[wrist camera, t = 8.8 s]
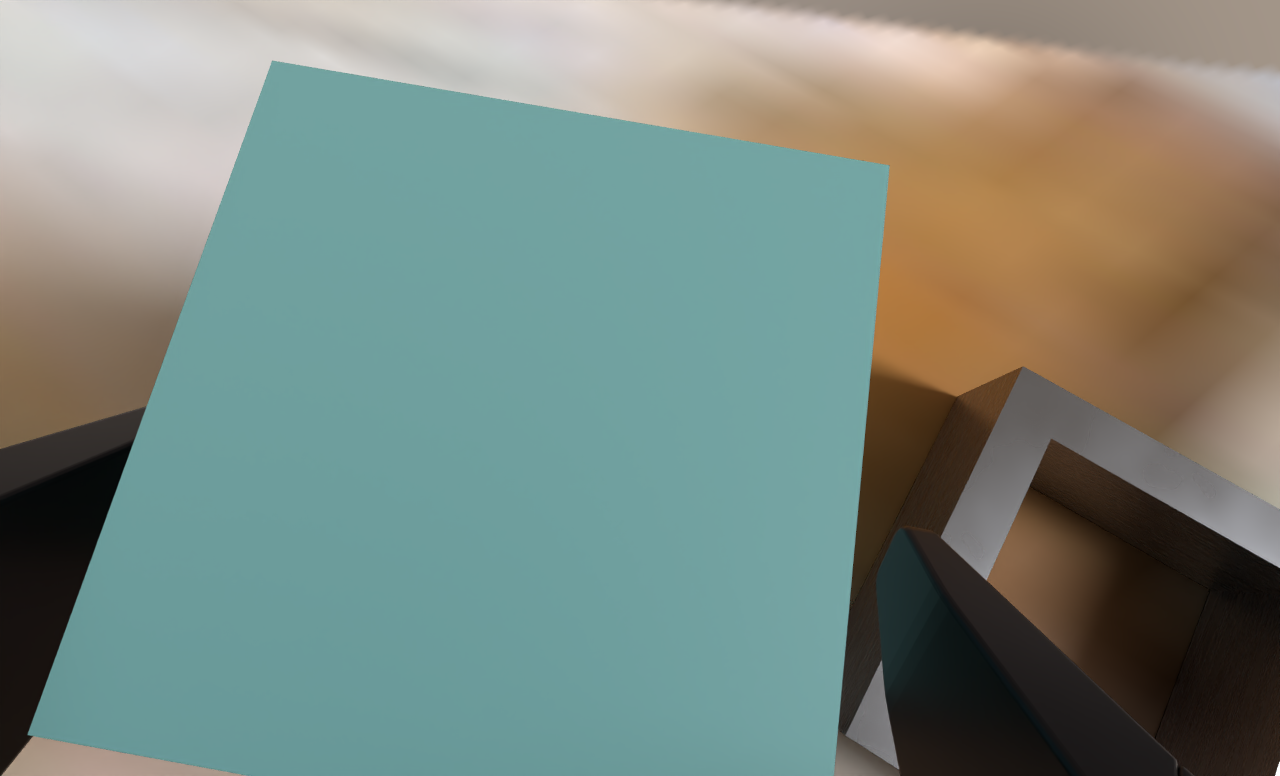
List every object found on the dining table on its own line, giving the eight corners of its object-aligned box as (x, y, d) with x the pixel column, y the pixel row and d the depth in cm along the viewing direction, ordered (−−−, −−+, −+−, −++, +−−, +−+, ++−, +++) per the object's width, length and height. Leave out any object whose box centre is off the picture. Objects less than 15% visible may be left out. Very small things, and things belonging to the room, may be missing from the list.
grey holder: (1147, 920, 15) (1273, 1008, 12) (804, 701, 16) (845, 735, 13) (1269, 573, 17) (1403, 578, 14) (957, 396, 18) (1022, 366, 15)
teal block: (672, 636, 16) (823, 880, 4) (465, 599, 16) (28, 734, 4) (703, 431, 17) (889, 166, 5) (511, 397, 17) (272, 60, 5)
